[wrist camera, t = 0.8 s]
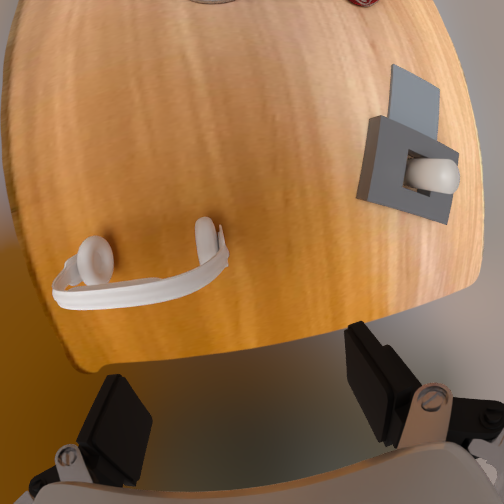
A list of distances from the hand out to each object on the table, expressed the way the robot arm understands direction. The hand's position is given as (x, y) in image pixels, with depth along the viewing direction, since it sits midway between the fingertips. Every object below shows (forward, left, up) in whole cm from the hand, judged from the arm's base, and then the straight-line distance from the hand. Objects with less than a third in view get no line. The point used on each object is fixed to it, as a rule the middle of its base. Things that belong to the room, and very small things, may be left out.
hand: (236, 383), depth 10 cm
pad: (-26, +24, -28) cm, 45 cm away
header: (-14, +24, -28) cm, 39 cm away
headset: (+3, -10, -28) cm, 30 cm away
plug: (-14, +24, -28) cm, 39 cm away
